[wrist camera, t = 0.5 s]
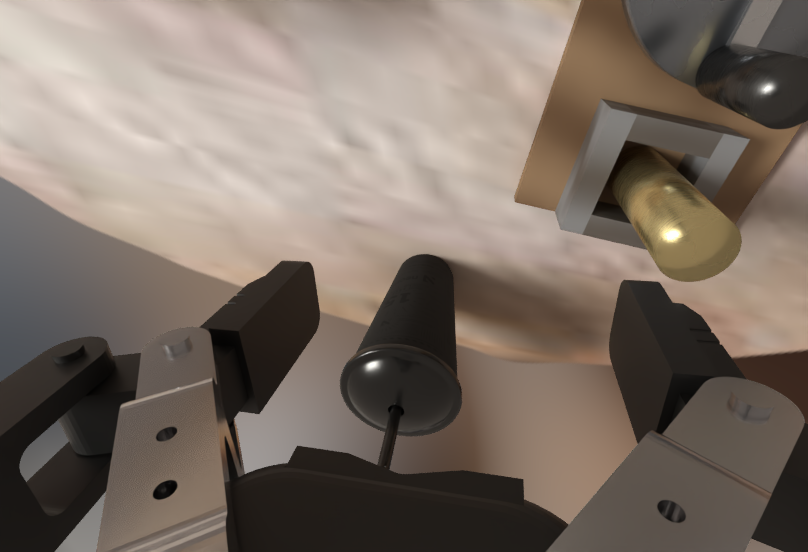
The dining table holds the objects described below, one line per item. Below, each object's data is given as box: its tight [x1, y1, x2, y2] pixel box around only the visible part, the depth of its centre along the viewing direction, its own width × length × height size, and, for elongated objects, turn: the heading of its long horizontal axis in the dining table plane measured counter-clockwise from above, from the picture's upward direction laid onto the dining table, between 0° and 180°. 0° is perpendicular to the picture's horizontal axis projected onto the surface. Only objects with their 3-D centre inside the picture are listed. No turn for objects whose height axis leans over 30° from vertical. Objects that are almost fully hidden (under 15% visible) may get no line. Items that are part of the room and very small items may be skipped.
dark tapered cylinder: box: [340, 254, 462, 470], centre depth 30 cm, size 8×8×20 cm
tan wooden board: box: [514, 0, 802, 250], centre depth 25 cm, size 23×15×4 cm, turn 170°
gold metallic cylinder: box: [607, 146, 742, 282], centre depth 26 cm, size 4×4×11 cm
